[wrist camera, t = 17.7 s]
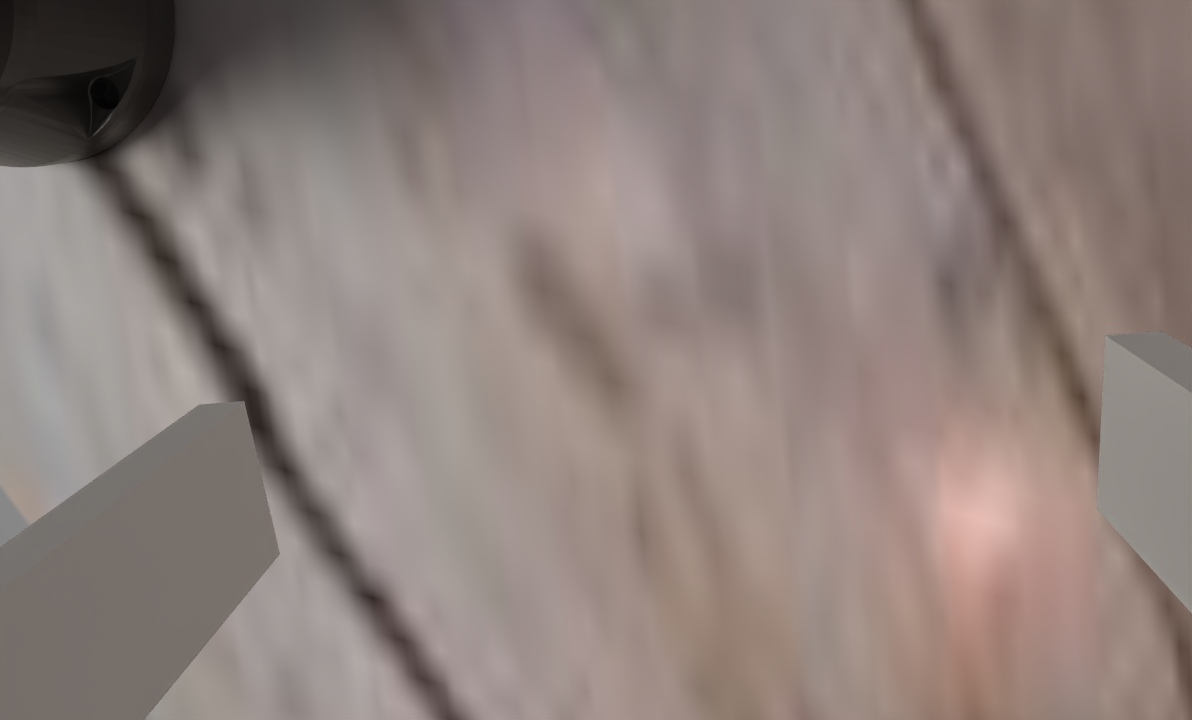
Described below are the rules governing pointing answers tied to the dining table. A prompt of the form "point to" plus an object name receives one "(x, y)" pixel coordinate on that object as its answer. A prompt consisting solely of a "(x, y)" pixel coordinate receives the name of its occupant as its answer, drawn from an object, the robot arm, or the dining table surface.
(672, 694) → the dining table surface
